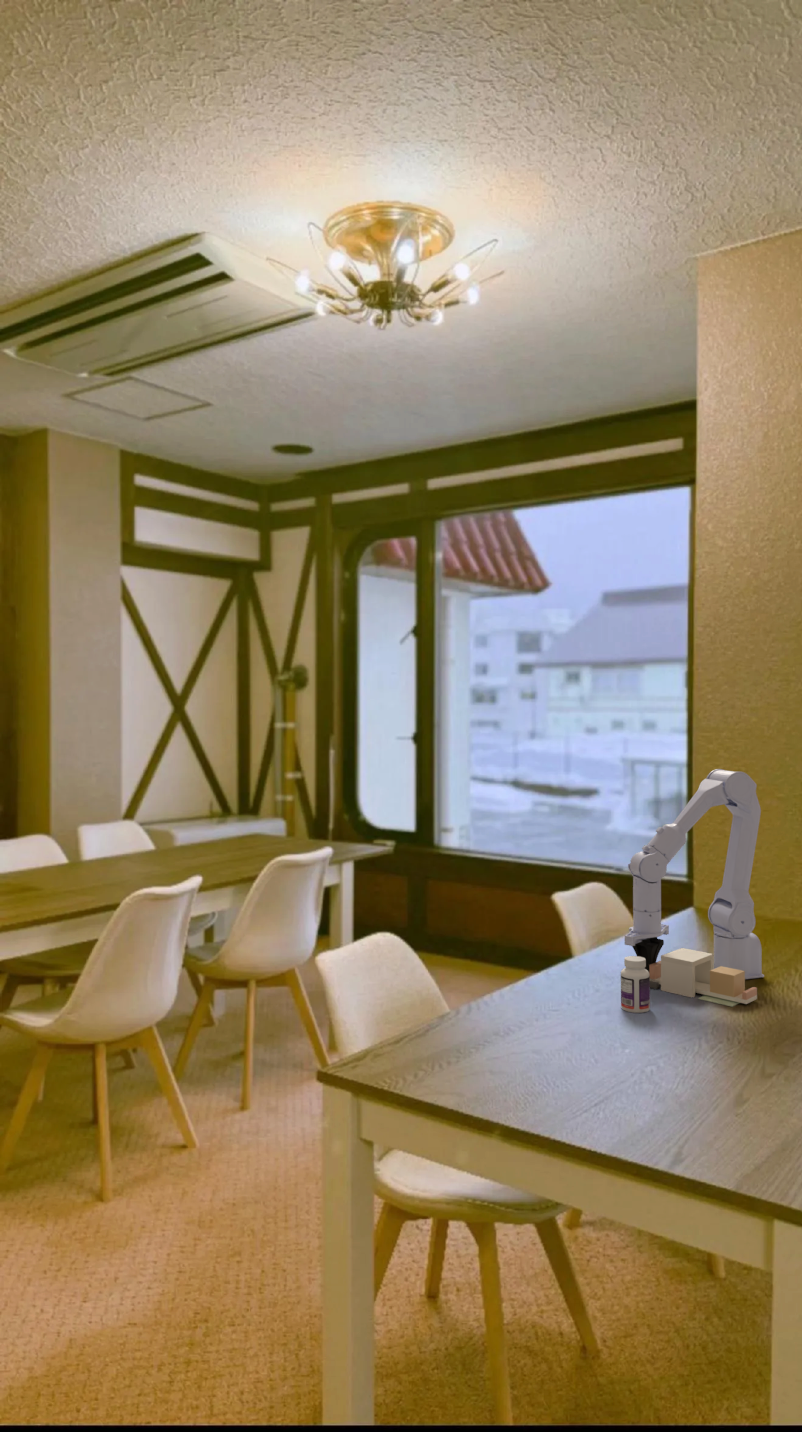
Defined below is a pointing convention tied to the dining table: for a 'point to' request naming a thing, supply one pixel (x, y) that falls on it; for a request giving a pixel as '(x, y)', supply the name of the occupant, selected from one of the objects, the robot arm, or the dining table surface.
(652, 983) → the pit tray
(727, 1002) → the pad
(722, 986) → the sled
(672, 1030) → the dining table surface
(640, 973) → the pill bottle
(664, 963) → the tunnel
